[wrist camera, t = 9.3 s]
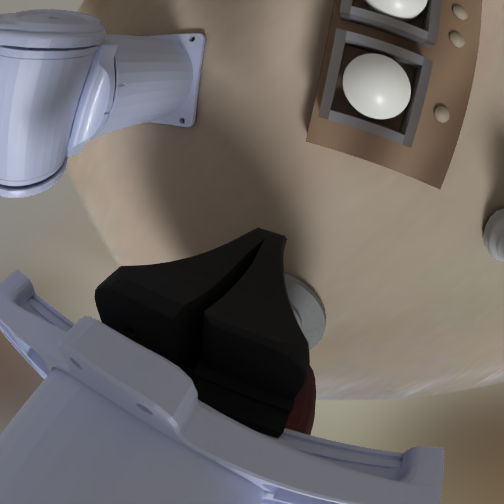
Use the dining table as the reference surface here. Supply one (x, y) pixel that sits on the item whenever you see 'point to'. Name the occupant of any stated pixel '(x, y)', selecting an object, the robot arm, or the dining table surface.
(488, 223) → the rook chess piece
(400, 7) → the button
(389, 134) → the button panel
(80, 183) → the dining table surface
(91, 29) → the robot arm
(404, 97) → the button
